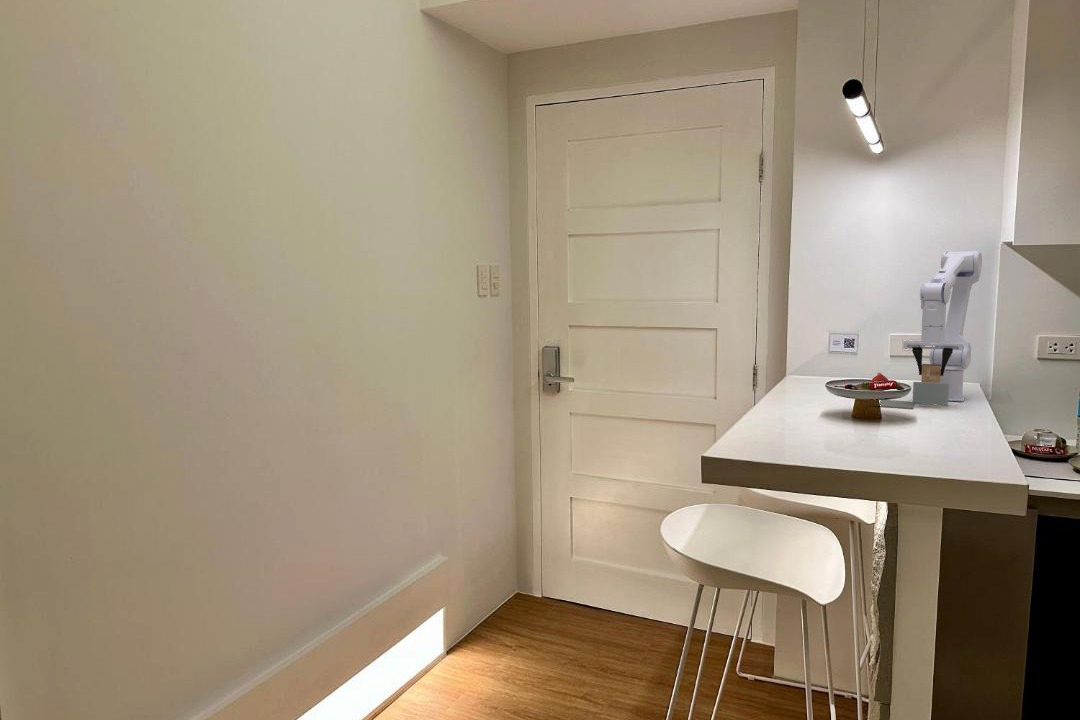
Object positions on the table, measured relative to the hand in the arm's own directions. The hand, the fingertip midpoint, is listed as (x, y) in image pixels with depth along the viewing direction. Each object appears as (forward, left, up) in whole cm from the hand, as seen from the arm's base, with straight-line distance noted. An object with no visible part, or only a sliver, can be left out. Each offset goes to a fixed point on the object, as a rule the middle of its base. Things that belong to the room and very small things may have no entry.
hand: (931, 375), depth 209 cm
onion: (-9, -14, -9) cm, 19 cm away
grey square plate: (+1, -10, -9) cm, 13 cm away
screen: (-6, 0, -9) cm, 11 cm away
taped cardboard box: (0, 0, -2) cm, 2 cm away
